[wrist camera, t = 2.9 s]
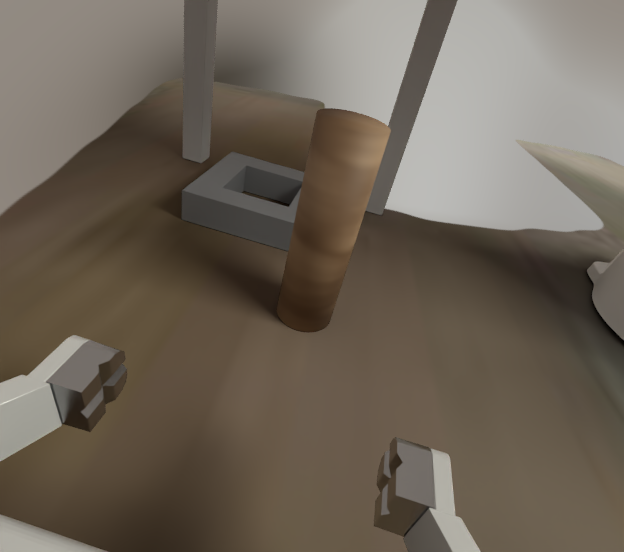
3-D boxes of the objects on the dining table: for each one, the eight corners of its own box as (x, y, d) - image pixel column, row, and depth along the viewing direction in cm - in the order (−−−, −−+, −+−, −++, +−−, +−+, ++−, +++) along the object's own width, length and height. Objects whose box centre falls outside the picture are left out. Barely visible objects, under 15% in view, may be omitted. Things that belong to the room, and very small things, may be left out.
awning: (370, 287, 29) (523, -115, 16) (104, 207, 30) (52, -228, 17) (383, 205, 41) (475, -61, 28) (193, 150, 42) (201, -129, 29)
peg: (320, 293, 27) (371, 113, 20) (338, 330, 24) (404, 138, 17) (271, 295, 26) (307, 104, 19) (284, 334, 23) (331, 130, 16)
